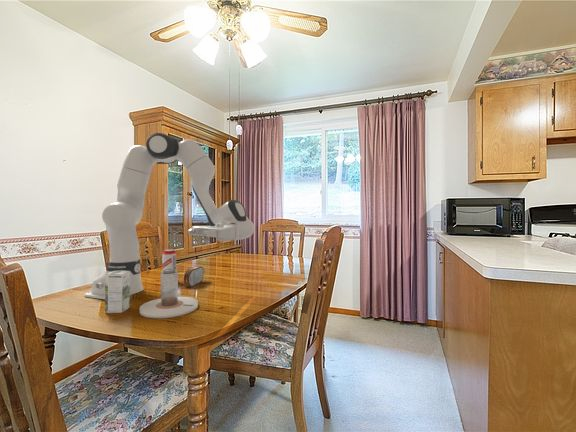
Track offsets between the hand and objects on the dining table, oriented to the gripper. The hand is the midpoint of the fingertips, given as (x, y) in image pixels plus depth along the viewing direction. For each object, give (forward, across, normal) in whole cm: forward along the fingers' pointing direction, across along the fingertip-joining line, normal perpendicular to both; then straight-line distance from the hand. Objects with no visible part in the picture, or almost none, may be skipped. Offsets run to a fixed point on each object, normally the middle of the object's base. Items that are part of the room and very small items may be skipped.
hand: (196, 232), depth 115 cm
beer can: (-13, -37, +28) cm, 48 cm away
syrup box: (+23, -13, +28) cm, 38 cm away
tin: (-18, -24, +28) cm, 40 cm away
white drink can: (+12, 0, +24) cm, 27 cm away
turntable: (+12, 0, +26) cm, 28 cm away
